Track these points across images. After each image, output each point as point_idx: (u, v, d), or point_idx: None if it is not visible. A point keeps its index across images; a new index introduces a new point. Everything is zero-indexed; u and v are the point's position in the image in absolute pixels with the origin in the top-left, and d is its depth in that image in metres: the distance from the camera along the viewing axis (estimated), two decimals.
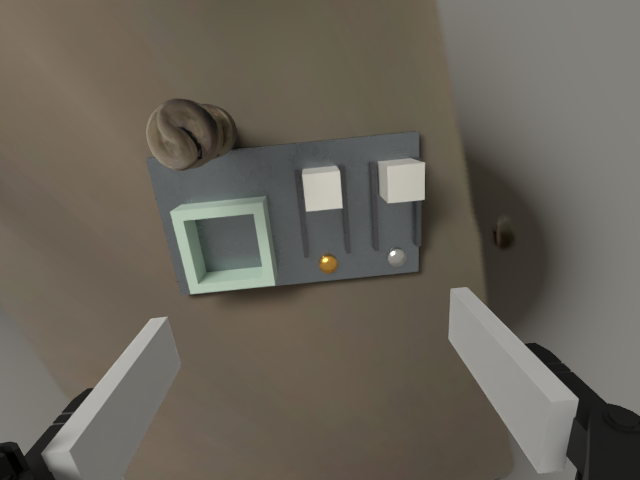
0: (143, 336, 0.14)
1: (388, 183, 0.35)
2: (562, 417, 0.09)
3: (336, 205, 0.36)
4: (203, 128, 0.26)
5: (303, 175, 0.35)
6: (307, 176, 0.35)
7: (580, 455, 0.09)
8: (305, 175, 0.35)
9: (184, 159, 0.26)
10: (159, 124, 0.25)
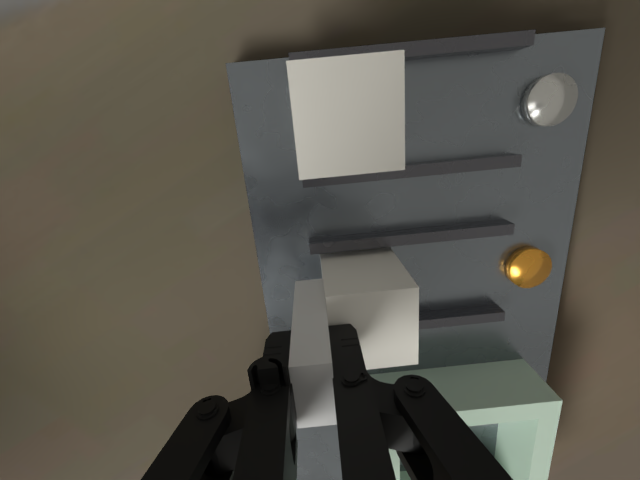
0: (300, 293, 0.16)
1: (347, 172, 0.12)
2: (322, 378, 0.11)
3: (410, 301, 0.14)
4: None
5: None
6: None
7: None
8: None
9: None
10: None
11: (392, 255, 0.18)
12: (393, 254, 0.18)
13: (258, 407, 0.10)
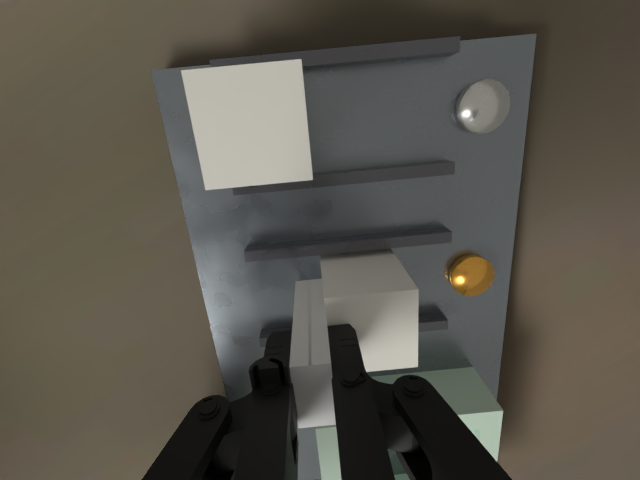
0: (301, 293, 0.16)
1: (254, 182, 0.12)
2: (321, 378, 0.11)
3: (410, 303, 0.14)
4: None
5: None
6: None
7: (334, 419, 0.11)
8: None
9: None
10: None
11: (392, 256, 0.17)
12: (393, 255, 0.17)
13: (259, 407, 0.10)
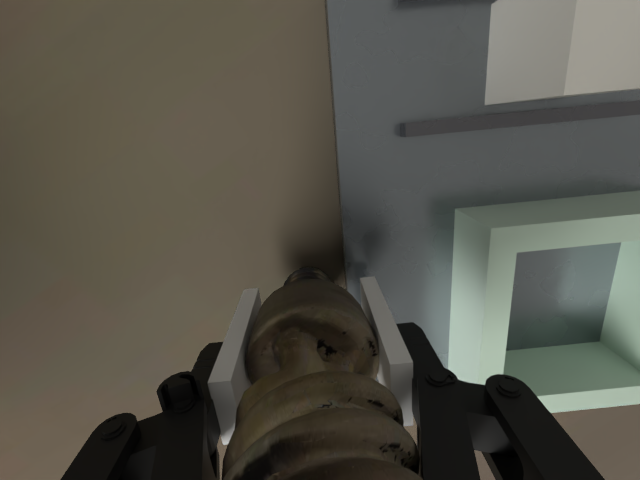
0: (245, 302, 0.15)
1: None
2: (402, 377, 0.11)
3: None
4: None
5: (566, 90, 0.11)
6: (573, 75, 0.10)
7: (416, 416, 0.10)
8: (568, 83, 0.10)
9: None
10: None
11: None
12: None
13: (171, 427, 0.09)
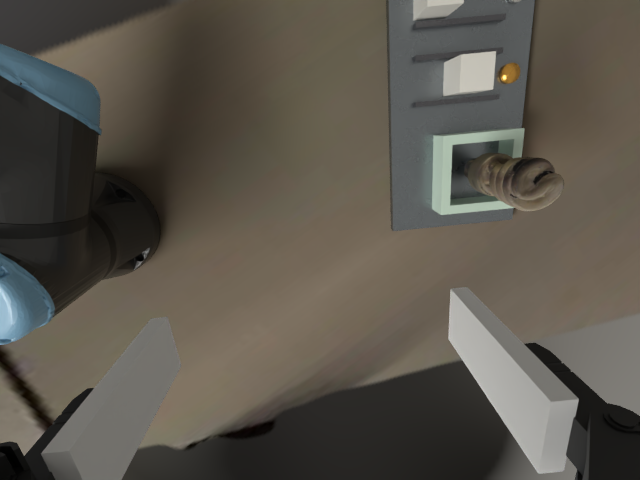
0: (144, 336, 0.14)
1: (443, 4, 0.36)
2: (562, 417, 0.09)
3: (492, 57, 0.38)
4: (536, 166, 0.33)
5: (460, 91, 0.39)
6: (461, 87, 0.39)
7: (580, 455, 0.09)
8: (460, 89, 0.39)
9: (559, 183, 0.33)
10: (531, 197, 0.33)
11: None
12: None
13: None
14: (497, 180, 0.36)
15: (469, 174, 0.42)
